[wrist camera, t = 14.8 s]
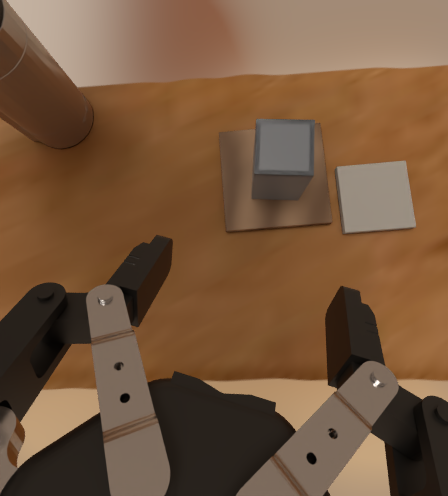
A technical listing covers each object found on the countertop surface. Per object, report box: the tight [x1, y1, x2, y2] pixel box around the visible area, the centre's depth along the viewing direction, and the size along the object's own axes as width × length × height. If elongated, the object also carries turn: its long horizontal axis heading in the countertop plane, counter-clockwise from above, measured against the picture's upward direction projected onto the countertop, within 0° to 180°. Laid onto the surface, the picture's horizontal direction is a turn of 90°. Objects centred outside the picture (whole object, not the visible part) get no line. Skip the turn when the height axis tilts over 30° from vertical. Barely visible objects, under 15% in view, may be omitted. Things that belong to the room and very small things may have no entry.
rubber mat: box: [335, 161, 416, 234], centre depth 41 cm, size 9×9×1 cm
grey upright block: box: [251, 119, 315, 200], centre depth 37 cm, size 6×6×9 cm
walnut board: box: [219, 123, 332, 232], centre depth 42 cm, size 14×14×1 cm
